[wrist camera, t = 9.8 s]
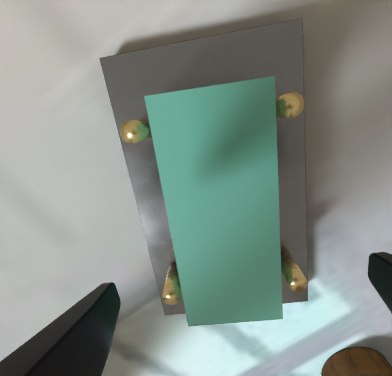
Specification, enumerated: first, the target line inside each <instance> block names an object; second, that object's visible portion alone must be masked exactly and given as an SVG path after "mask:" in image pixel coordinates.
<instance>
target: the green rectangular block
mask: <svg viewBox="0 0 392 376" xmlns="http://www.w3.org/2000/svg"><path fill="white" fill-rule="evenodd" d="M144 98H145V103H146V108H147V113H148V118H149V124H150V129H151V134H152V139H153V144H154V150H155V155H156V160H157V165H158V170H159V176H160V181H161V186H162V191H163V196H164V202H165V207H166V212H167V217H168V222H169V228H170V233H171V238H172V243H173V248H174V254H175V259H176V264H177V269H178V274H179V280H180V285H181V290H182V295H183V300H184V306H185V311H186V316H187V321H188V326H198V325H211V324H224V323H237V322H249V321H262V320H275V319H283V311H282V280H281V249H280V218H279V187H278V156H277V125H276V94H275V76H272V77H265V78H259V79H252V80H246V81H239V82H233V83H226V84H220V85H213V86H207V87H200V88H194V89H187V90H181V91H174V92H168V93H162V94H155V95H149V96H144Z"/></svg>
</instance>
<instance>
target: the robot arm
mask: <svg viewBox="0 0 392 376" xmlns="http://www.w3.org/2000/svg"><path fill="white" fill-rule="evenodd" d="M368 277H369V280H370V282H371V283H372V285H373V286H374V288H375V289H376V291H377V292H378V294H379V295H380V296H381V298H382V299H383V301H384V302H385V304H386V305H387V307H388V308H389V310H390V311H391V313H392V254H389V253H386V252H378V253H372V254H370V256H369V265H368ZM119 310H120V298H119V295H118V292H117V289H116V286H115V284H114V283H113V282H110V283H103V284H101V285H100V286H98V287H97V288H96V289H94V290H93V291H92V292H91V293H89V294H88V295H87V296H85V297H84V298H83V299H81V300H80V301H79V302H78V303H76V304H75V305H74V306H72V307H71V308H70V309H68V310H67V311H66V312H65V313H63V314H62V315H61V316H59V317H58V318H57V319H55V320H54V321H53V322H52V323H50V324H49V325H48V326H46V327H45V328H44V329H42V330H41V331H40V332H38V333H37V334H36V335H35V336H33V337H32V338H31V339H29V340H28V341H27V342H25V343H24V344H23V345H22V346H20V347H19V348H18V349H16V350H15V351H14V352H12V353H11V354H10V355H9V356H7V357H6V358H5V359H3V360H2V361H1V362H0V376H101V375H102V372H103V369H104V366H105V363H106V360H107V357H108V354H109V351H110V347H111V343H112V339H113V335H114V331H115V326H116V322H117V318H118V314H119Z"/></svg>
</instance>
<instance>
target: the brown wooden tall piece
mask: <svg viewBox="0 0 392 376" xmlns="http://www.w3.org/2000/svg"><path fill="white" fill-rule="evenodd" d="M322 376H392V367H391V365H390V364H389V362H388V361H387V360H386V359H385V357H384V356H383V355H381V354H380V353H378V352H376V351H374V350H372V349H367V348H352V349H346V350H343V351H340V352H338V353H336V354H334V355H333V356H331V357H330V358H329V359H328V360H327V362H326V363H325V364H324V366H323V369H322Z"/></svg>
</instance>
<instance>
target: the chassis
mask: <svg viewBox="0 0 392 376" xmlns="http://www.w3.org/2000/svg"><path fill="white" fill-rule="evenodd" d="M100 62H101V66H102V70H103V74H104V78H105V82H106V86H107V90H108V94H109V97H110V101H111V105H112V109H113V113H114V117H115V121H116V125H117V129H118V133H119V137H120V140H121V144H122V148H123V152H124V156H125V160H126V164H127V168H128V172H129V176H130V179H131V183H132V187H133V191H134V195H135V199H136V203H137V207H138V211H139V215H140V219H141V222H142V226H143V230H144V234H145V238H146V242H147V246H148V250H149V254H150V258H151V262H152V265H153V269H154V273H155V277H156V281H157V285H158V289H159V293H160V297H161V301H162V304H163V308H164V312H165V315H173V314H183V313H186V311H185V306H184V300H183V295H182V290H181V285H180V280H179V274H178V269H177V264H176V259H175V254H174V248H173V243H172V238H171V233H170V228H169V222H168V217H167V212H166V207H165V202H164V196H163V191H162V186H161V181H160V176H159V170H158V165H157V160H156V155H155V150H154V144H153V139H152V134H151V129H150V124H149V118H148V113H147V108H146V103H145V98H144V96H149V95H155V94H162V93H168V92H174V91H181V90H187V89H194V88H200V87H207V86H213V85H220V84H226V83H233V82H239V81H246V80H252V79H259V78H265V77H272V76H275V94H276V125H277V156H278V187H279V218H280V249H281V280H282V303H292V302H302V301H308V281H307V231H306V179H305V127H304V76H303V24H302V18H301V19H296V20H291V21H285V22H280V23H275V24H270V25H265V26H260V27H255V28H250V29H245V30H240V31H235V32H230V33H224V34H219V35H214V36H209V37H204V38H199V39H194V40H189V41H184V42H179V43H174V44H169V45H163V46H158V47H153V48H148V49H143V50H138V51H133V52H128V53H123V54H118V55H113V56H108V57H102V58H100Z"/></svg>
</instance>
